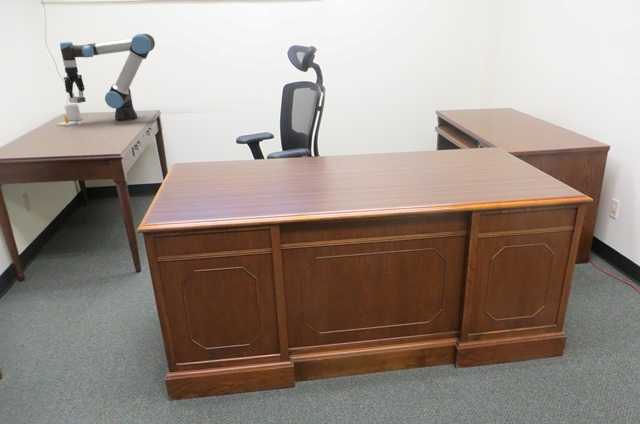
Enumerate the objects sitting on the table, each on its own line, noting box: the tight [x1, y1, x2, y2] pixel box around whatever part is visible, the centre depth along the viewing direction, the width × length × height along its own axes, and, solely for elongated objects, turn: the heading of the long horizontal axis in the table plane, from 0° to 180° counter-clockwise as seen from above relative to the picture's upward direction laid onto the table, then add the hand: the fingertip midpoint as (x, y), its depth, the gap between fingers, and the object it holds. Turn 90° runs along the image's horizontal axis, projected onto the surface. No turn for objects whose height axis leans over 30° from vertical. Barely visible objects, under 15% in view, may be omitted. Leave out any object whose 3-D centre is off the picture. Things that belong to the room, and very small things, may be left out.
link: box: [68, 96, 87, 104], centre depth 317 cm, size 7×7×3 cm
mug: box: [64, 103, 82, 122], centre depth 336 cm, size 9×12×11 cm
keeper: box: [56, 114, 79, 128], centre depth 320 cm, size 9×9×6 cm
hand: (77, 101), depth 318 cm, fingers closed on link, 7 cm apart
